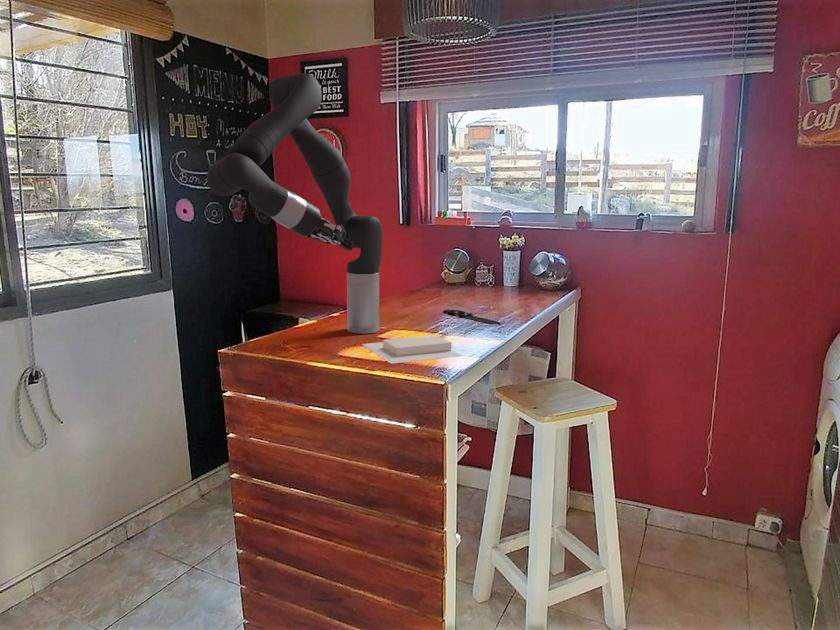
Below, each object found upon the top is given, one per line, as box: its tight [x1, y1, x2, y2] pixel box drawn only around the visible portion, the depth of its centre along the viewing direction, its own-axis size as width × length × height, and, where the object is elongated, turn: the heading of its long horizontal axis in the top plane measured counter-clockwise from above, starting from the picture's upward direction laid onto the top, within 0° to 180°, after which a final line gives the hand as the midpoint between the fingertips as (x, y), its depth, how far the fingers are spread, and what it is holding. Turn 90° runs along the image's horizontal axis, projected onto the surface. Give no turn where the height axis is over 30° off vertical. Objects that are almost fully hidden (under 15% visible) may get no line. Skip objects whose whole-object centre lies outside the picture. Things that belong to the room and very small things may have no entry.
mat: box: [361, 341, 463, 365], centre depth 153 cm, size 20×19×1 cm
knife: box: [442, 308, 501, 325], centre depth 198 cm, size 25×6×1 cm, turn 34°
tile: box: [382, 334, 452, 356], centre depth 153 cm, size 9×2×15 cm
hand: (351, 246), depth 146 cm, fingers closed
